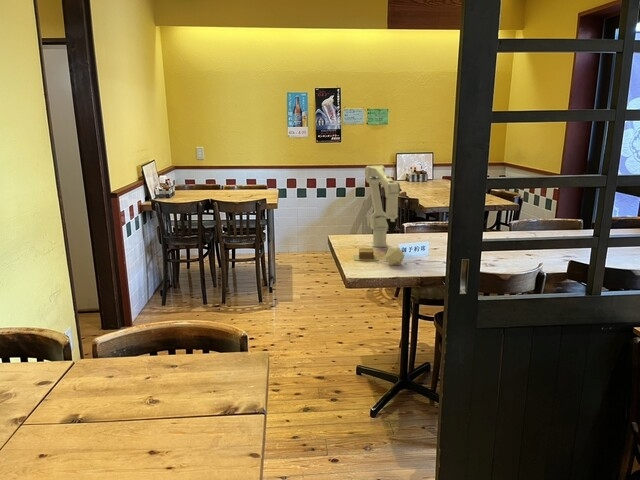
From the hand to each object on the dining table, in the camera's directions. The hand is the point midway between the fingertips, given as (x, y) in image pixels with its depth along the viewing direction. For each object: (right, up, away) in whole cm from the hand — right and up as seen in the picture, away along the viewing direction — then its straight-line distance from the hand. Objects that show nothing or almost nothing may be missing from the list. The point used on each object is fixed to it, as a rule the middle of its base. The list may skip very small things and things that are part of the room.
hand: (391, 232), depth 239 cm
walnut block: (-13, -9, -3) cm, 16 cm away
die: (-1, -15, -18) cm, 24 cm away
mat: (-14, -13, -7) cm, 20 cm away
